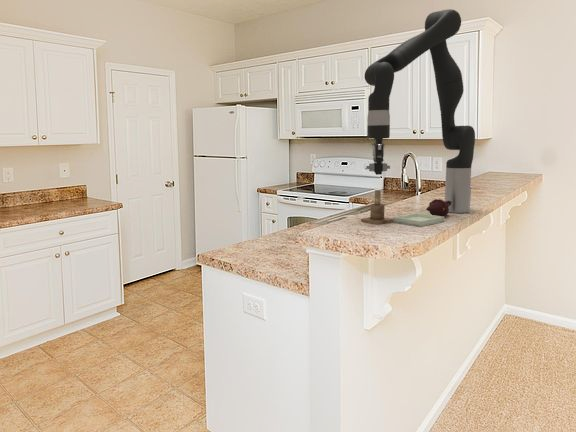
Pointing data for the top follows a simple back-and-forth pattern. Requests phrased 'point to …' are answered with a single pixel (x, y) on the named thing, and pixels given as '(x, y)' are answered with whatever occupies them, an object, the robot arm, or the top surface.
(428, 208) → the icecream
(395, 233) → the top surface
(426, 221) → the tray
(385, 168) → the ring
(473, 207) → the top surface
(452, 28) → the robot arm
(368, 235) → the top surface
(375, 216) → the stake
